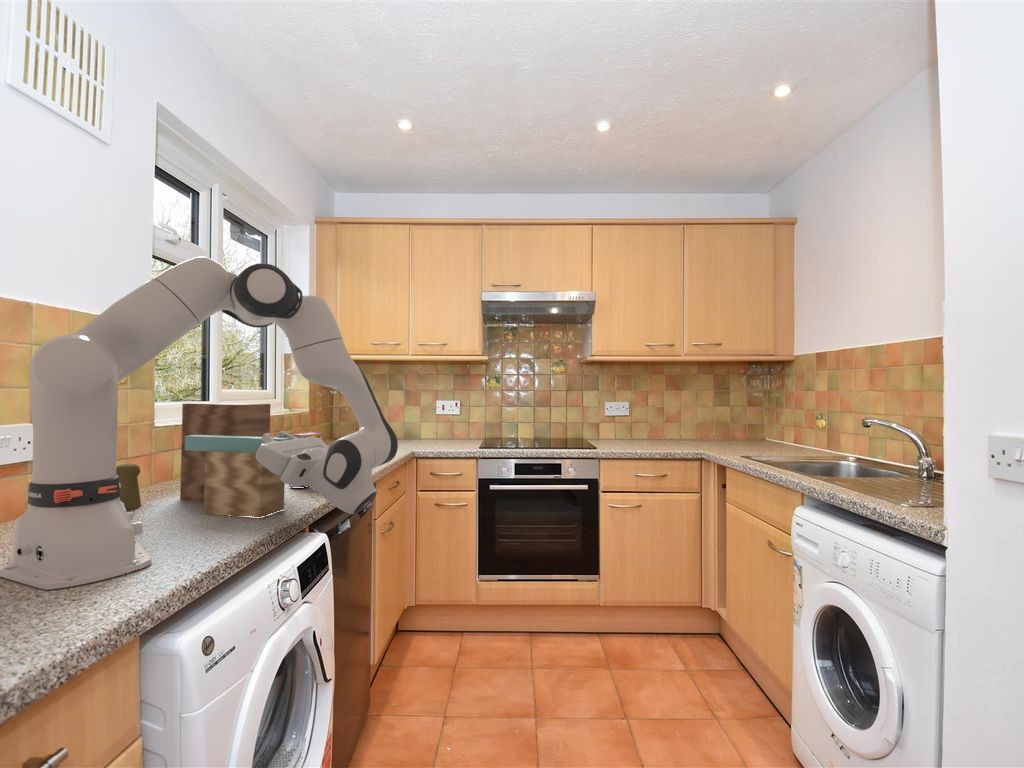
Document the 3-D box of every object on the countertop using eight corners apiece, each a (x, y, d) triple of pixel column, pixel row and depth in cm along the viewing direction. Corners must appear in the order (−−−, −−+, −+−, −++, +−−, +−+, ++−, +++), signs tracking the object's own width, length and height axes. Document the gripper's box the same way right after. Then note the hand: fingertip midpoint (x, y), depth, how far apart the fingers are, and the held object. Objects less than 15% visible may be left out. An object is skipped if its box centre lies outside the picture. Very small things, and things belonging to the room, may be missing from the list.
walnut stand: (268, 494, 141) (270, 403, 142) (235, 503, 130) (238, 404, 130) (216, 490, 145) (218, 402, 146) (180, 499, 134) (182, 403, 134)
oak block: (283, 511, 123) (285, 450, 123) (260, 519, 115) (261, 454, 115) (230, 506, 126) (231, 448, 127) (203, 514, 119) (205, 451, 119)
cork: (115, 512, 119) (116, 466, 119) (107, 508, 123) (108, 464, 123) (144, 507, 124) (146, 464, 124) (136, 504, 128) (137, 461, 128)
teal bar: (290, 452, 120) (291, 437, 120) (281, 453, 117) (282, 439, 117) (195, 448, 124) (196, 434, 124) (184, 450, 121) (185, 436, 121)
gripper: (345, 449, 126) (305, 421, 129) (292, 460, 106) (246, 426, 109) (334, 470, 127) (294, 441, 130) (279, 485, 107) (233, 450, 110)
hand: (272, 435), depth 119 cm, fingers closed on teal bar, 4 cm apart
